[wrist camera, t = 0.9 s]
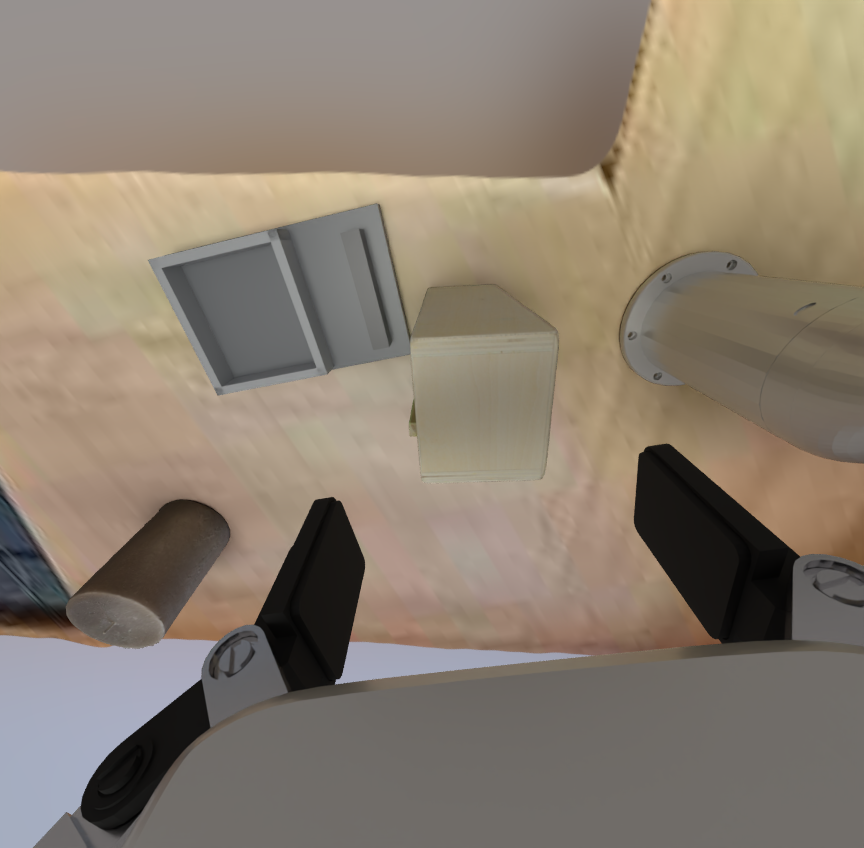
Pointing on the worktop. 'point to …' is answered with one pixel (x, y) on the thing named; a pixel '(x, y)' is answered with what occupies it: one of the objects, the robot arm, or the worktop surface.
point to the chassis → (289, 300)
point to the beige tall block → (481, 386)
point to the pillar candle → (150, 577)
